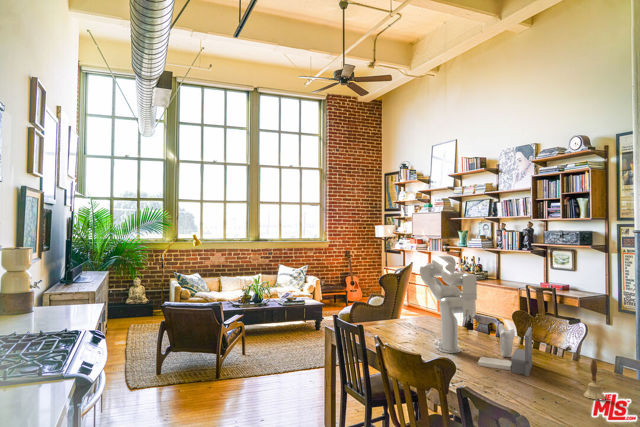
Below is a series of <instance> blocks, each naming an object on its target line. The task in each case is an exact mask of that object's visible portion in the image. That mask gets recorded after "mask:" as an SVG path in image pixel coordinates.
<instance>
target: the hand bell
mask: <svg viewBox="0 0 640 427" xmlns="http://www.w3.org/2000/svg"><path fill="white" fill-rule="evenodd" d="M589 369H590V372H591V382H589V383H588V384H587V390H586V391H585V392H584V393H583V396H584V397H585V398H586V397H587V398H586V399H589V398H592V399H605V397H606V396H605V395H604V394H603V392H602V389H601V388H602V387H601V385H600V384H599V383H597V373H598V364H597V361H596V359H592V360H591V363H590V368H589ZM592 399H591V400H592Z"/></svg>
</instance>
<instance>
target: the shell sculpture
mask: <svg viewBox="0 0 640 427" xmlns="http://www.w3.org/2000/svg"><path fill="white" fill-rule="evenodd" d="M498 333H499V348H500V355H501V356H502V357H504V358H511V357H512V355H513V347H514V346H513V345H514V340H515V336H516V332H515V329H514V328H513V329H510V330H509V329H507V328H506V326H505V325H504V324H503V323H499V324H498Z"/></svg>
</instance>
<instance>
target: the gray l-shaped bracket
mask: <svg viewBox="0 0 640 427" xmlns="http://www.w3.org/2000/svg"><path fill="white" fill-rule="evenodd" d="M510 361H511V366H512V368H511V373H512V374H518V375H524V376H525V377H527V378H528V377H530V373H531V370H532V368H533V328H532V327H531V326H528V328H527V330H526V332H525V334H524V349H522V348H515V349H514V351H513V352H512V355H511V357H510Z"/></svg>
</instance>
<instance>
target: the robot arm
mask: <svg viewBox="0 0 640 427" xmlns="http://www.w3.org/2000/svg"><path fill="white" fill-rule="evenodd" d="M456 264H457V262H456V259H455V258H454V257H453V256H451V255H438V256H435V257H433V258H432V260H431V262H429V263H423V264H422V265H421V266H420V267H419V274H420V278H421V280H422V281H423V283H424V284H425V285H426V286H427V287H428V289H429V290H430V291H431V293H432V294H433V296H434V298H435V299H436V300H437V301H438V306H439V312H440V341H433V342H434V346H438V351H440V352H442V353H446V354H458V353H460V352H461V350H462V349H461V348H459V346H458V345H459V344H458V343H459V338H458V336H459V332H458V331H459V330H458V329H459V328H458V319H457V317H456V316H455V314H462V317H463V318H466V330H467V331H473V330H474V317H475V316H476V301H477V300H478V296H477V295H478V294H477V293H478V292H477V290H478V289H477V287H478V286H477V275H476V274H474V273H469V272H466V271H465V272H464V271H463V272H455V271H456V266H457V265H456ZM438 277H441V279H442V281H443V282H444V283H445V284H447V285H445V284H443V282H442V281H441V280H440V279H439V278H438ZM459 287H462V288H461V290H462V291H461V290H460V288H459Z"/></svg>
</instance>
